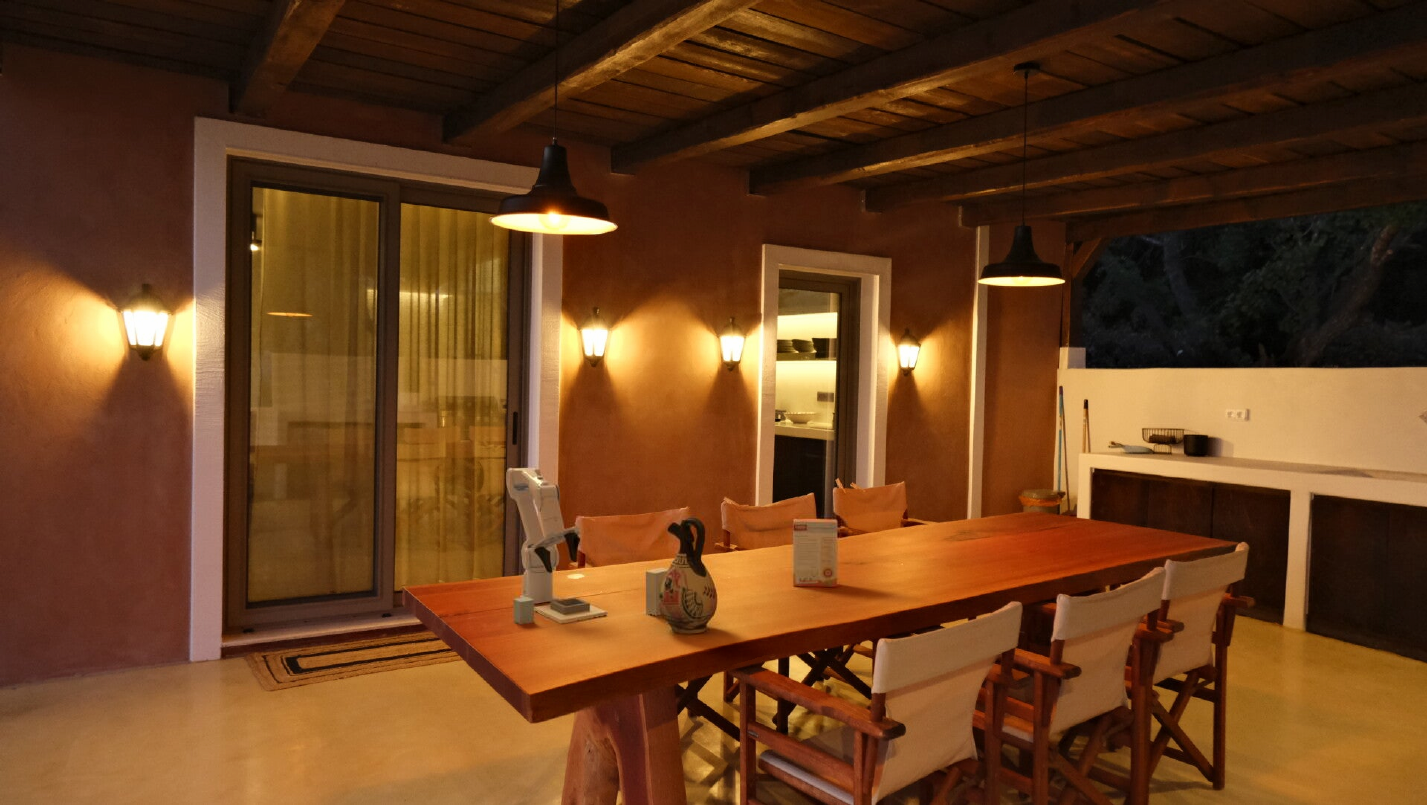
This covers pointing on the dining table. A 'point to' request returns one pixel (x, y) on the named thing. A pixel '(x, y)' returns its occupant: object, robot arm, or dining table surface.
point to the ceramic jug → (688, 583)
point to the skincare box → (654, 590)
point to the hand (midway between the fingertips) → (561, 566)
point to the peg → (523, 610)
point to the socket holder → (569, 610)
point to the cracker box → (815, 552)
